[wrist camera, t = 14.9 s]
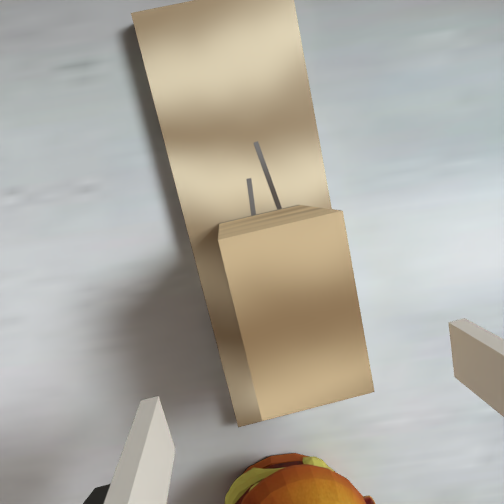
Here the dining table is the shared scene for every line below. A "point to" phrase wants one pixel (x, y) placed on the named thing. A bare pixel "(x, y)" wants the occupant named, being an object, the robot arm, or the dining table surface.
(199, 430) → the dining table surface
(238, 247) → the block
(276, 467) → the cheeseburger
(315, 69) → the dining table surface
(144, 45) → the board
